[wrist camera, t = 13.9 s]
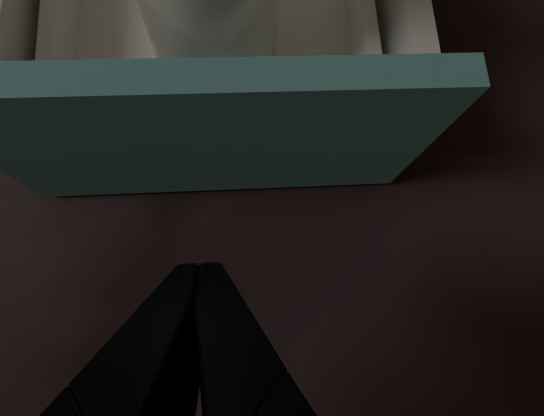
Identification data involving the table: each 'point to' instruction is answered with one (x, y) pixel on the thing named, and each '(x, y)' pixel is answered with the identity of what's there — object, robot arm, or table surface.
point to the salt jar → (211, 27)
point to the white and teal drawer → (222, 104)
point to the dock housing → (389, 7)
